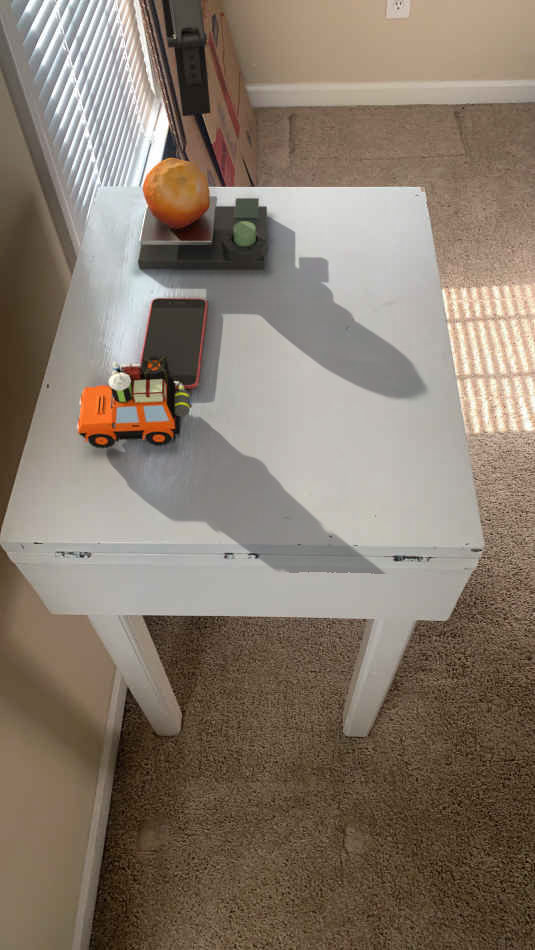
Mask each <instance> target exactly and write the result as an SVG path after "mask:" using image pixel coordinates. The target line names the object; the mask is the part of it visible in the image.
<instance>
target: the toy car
mask: <svg viewBox="0 0 535 950" xmlns="http://www.w3.org/2000/svg"><path fill="white" fill-rule="evenodd" d="M109 374H110V373H109V372H108V373H107V375H109ZM109 377H110V378H109V380H108V381H107V380H105V382H106V384H107V385H104V384H103V385H97V386H88V387H84V388H83V391H82V394H80V399H79V406H80V410H79V411H80V412H79V417H78V418H77V420H78V421H77V425H76V429H77V434H78V435H79V436H81V437H82V438H84V443H87V442H88V443H89V445H91V446H92V447H95V448H97V449H98V448H100V449H108V448H110V447H113V445H115V442H117V443H119V442H120V441H122V440H123V441H125V440H142V441H144V440H146V442H147V443H149V444H150V445H154V446H159V447H160V446H161V447H162V446H166V445H167V444H170V443H171V442H172V440H173V442H174V443H176V436H177V435H180V434H181V417H187V416H188V415H189V413H190V409H192V405H193V404H192V400H193V399H192V397H191V396H190V393H189V392H188V391H187V390H186V389H184V386H183V385H182V383H181V382H177V381H173V379H172V378H171V376H170V374H169V369H168V363H167V362H166V359H165V357H164V356H163V357H161V356H157V355H155V356H150V357H147V358H146V357H144V358H143V361H142V363H141V364H140V363H137V364H136V363H134V364H133V363H130V364H119V363H118V362H117V361H116V362H115V361H114V362H113V364H112V372H111V376H109ZM175 386H177V387H178V388H179V389H175Z"/></svg>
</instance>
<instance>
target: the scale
mask: <svg viewBox="0 0 535 950" xmlns="http://www.w3.org/2000/svg"><path fill="white" fill-rule="evenodd" d="M234 215H235V206H234V205H233V206H232V205H231V206H230V205H229V206H228V205H227V206H226V205H221V206H220V205H219V206H218V205H216V213H215V223H214V232H213V242H212V245H140V246H139V247H140V248H139V252H138V257H137V263H138V264H137V265H138V268H139V270H200V271H201V270H207V271H208V270H209V271H210V270H214V271H215V270H218V271H219V270H225V271H226V270H227V271H230V270H233V271H236V270H237V271H245V270H246V271H249V270H250V271H252V270H253V271H265V269H266V254H268V252H269V235H268V232H267V227H268V226H267V225H268V207H267V206H265V205H264V206H262V205H261V206H260V205H259V206H258V220H235V219H234ZM242 221H247V222H251V223H253V224H254V225H255V227H256V242H255V243H254V244H253V245H251V246H248V247H246V246H238V245H236V244H235V242H234V235H233V227H234V225H235V224H237V223H239V222H242Z"/></svg>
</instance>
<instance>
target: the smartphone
mask: <svg viewBox="0 0 535 950" xmlns="http://www.w3.org/2000/svg"><path fill="white" fill-rule="evenodd" d="M208 305H209V303H208V301H207V300H206V299H205V298H189V297H188V298H187V297H159V298H158V297H157V298H154V299H152V301H151V303H150V308H149V312H148V317H147V324H146V329H145V335H144V341H143V346H142V351H141V356H140V362H139V364H141V363H142V361H143V358H144V357H146V358H147V357H150V356H155V355H157V356H161V357H163V356H164V357H165V359H166V362H167V363H168V369H169V374H170V376H171V378H172V379H173V381H177V382H181V383H182V385H183V386H184V390H192V389H195V388H196V387H197V386H198V385H199V381H200V373H201V365H202V358H203V357H202V356H203V348H204V341H205V340H204V339H205V332H206V324H207V315H208V308H209V307H208ZM175 389H176V390H179V388H178V387H177V386H175Z"/></svg>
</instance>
